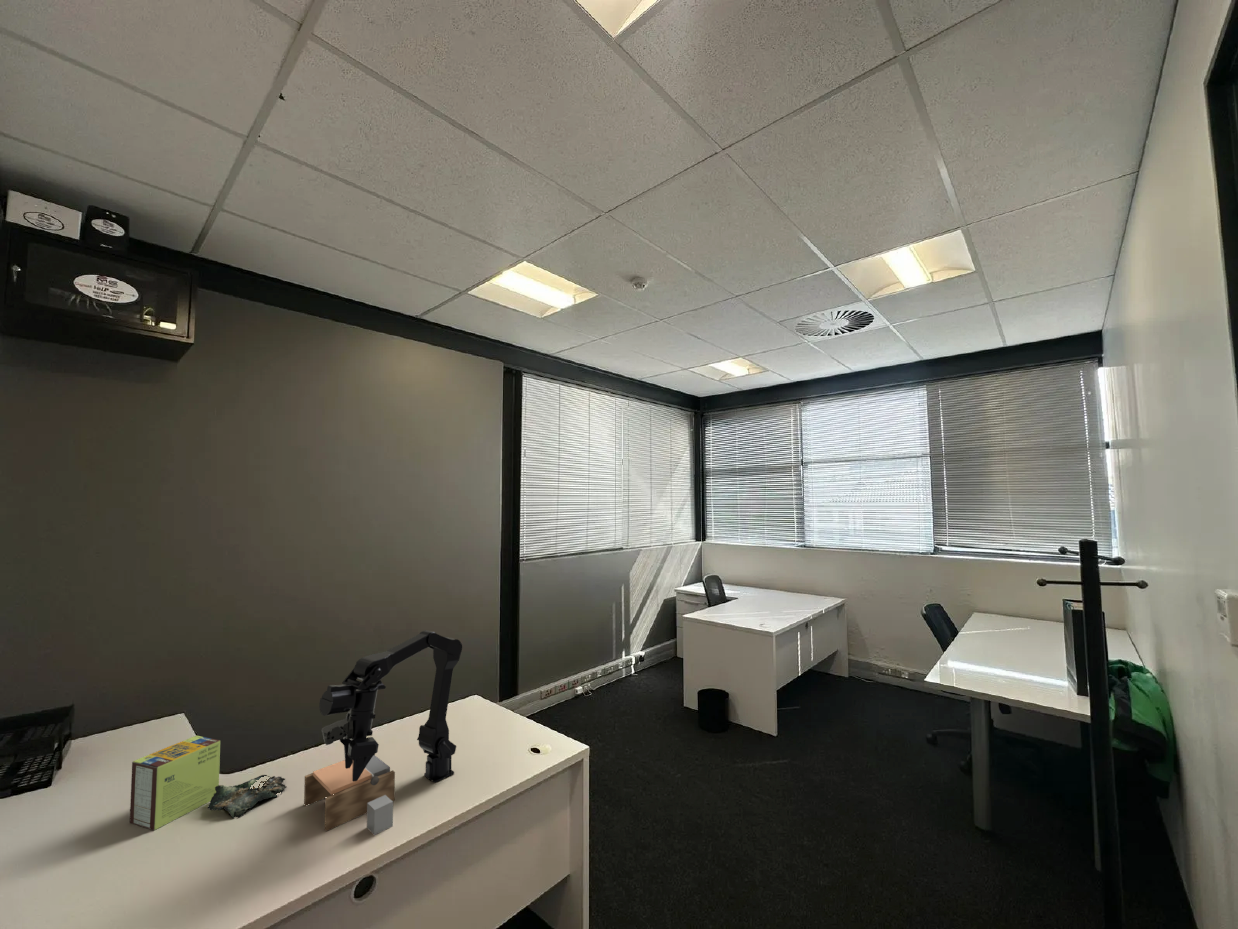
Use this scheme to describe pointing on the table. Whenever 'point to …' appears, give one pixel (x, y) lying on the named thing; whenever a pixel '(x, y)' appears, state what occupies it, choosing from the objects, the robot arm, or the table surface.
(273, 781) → the decorative rock
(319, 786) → the trapdoor frame
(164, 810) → the protein box
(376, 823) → the stone
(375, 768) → the trapdoor
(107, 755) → the table surface
